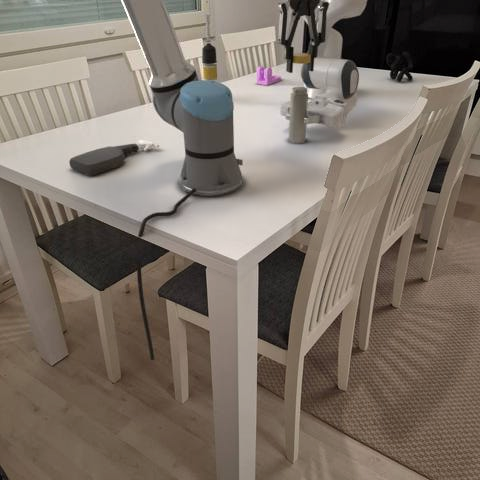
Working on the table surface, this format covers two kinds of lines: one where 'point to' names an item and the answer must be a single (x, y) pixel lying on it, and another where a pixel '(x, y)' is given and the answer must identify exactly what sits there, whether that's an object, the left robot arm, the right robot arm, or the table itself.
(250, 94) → the table surface
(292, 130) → the jar
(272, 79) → the bracket
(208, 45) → the black and yellow bottle
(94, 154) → the spray bottle
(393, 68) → the squiggle
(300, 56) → the lid
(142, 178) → the table surface
